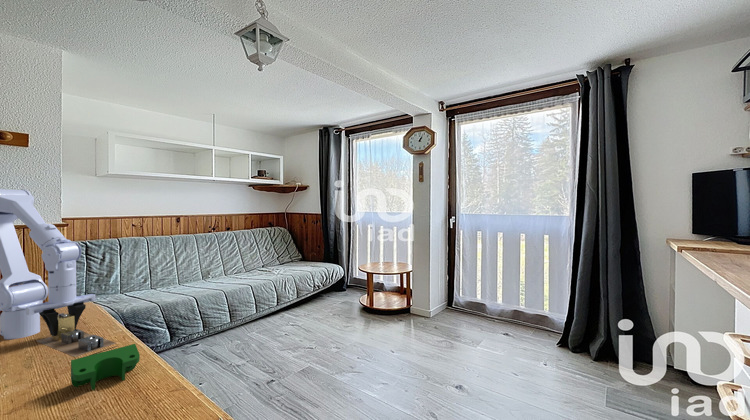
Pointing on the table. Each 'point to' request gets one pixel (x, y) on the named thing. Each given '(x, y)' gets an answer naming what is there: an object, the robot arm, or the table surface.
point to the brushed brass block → (64, 325)
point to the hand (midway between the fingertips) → (63, 332)
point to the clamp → (104, 365)
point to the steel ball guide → (82, 340)
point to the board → (71, 346)
